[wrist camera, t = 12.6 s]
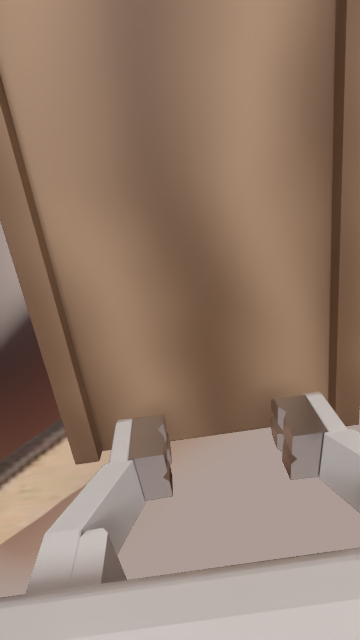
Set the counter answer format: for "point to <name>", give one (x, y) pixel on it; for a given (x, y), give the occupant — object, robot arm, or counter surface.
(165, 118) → the beam
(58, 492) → the counter surface
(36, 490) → the counter surface
